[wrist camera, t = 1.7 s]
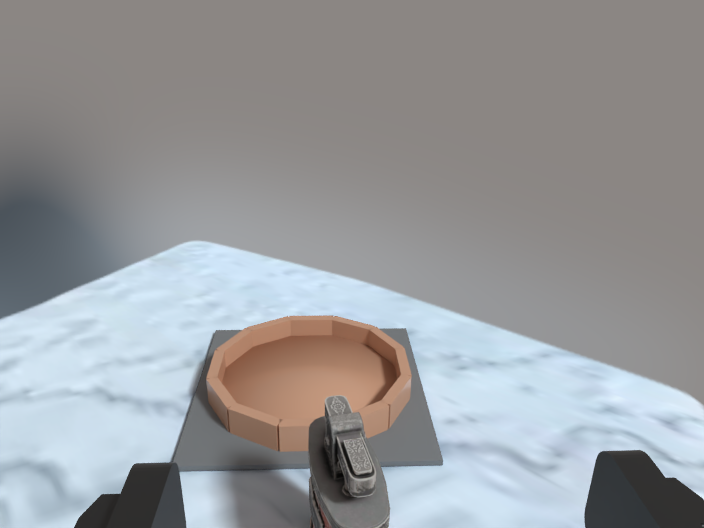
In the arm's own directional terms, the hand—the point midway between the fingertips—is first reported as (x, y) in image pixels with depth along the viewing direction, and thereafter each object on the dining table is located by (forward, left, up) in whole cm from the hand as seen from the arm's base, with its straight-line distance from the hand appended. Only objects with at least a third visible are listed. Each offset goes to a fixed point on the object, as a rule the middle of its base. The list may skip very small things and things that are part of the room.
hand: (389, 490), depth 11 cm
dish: (-2, +31, -19) cm, 37 cm away
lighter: (0, +14, -20) cm, 24 cm away
